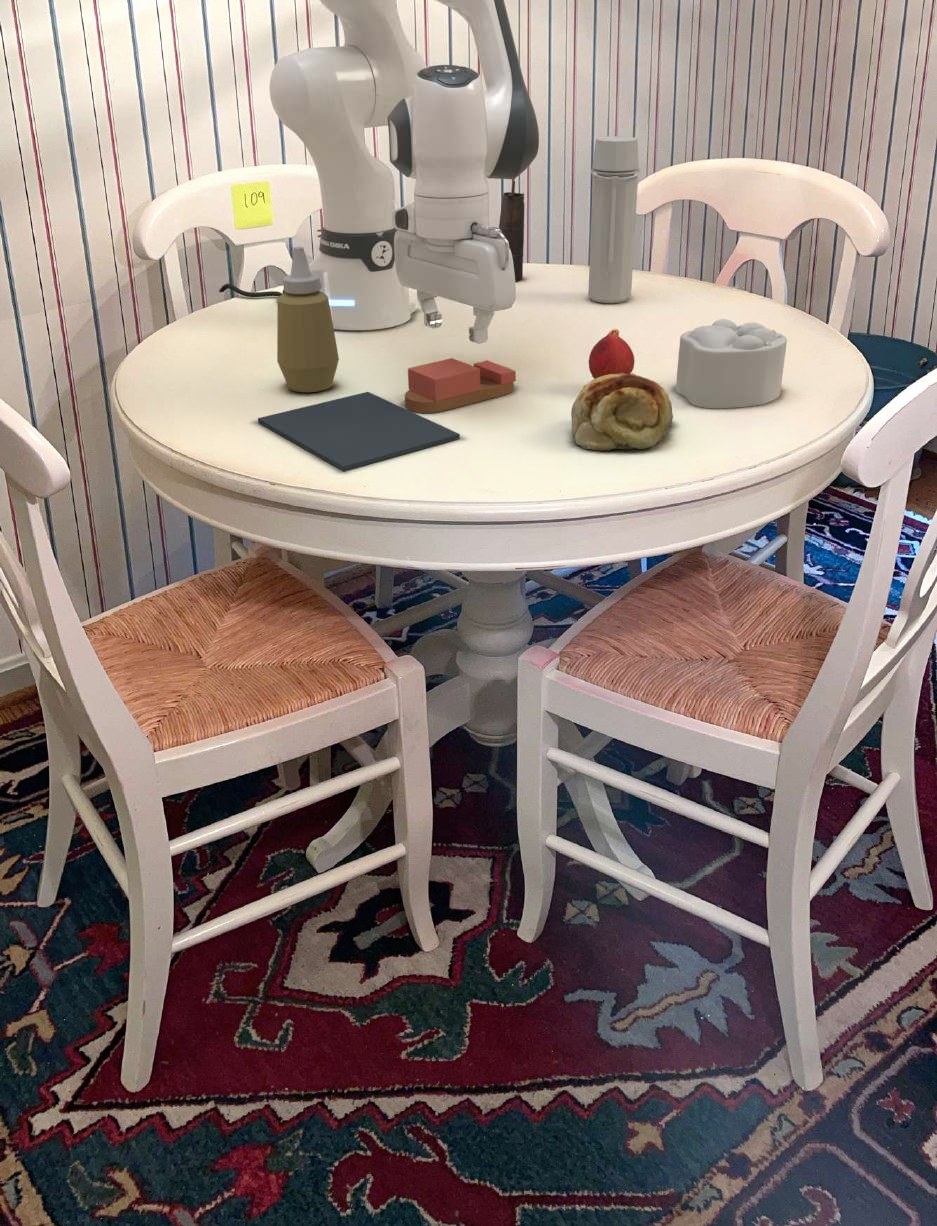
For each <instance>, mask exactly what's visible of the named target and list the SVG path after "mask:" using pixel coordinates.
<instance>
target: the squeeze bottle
mask: <svg viewBox="0 0 937 1226" xmlns="http://www.w3.org/2000/svg"><path fill="white" fill-rule="evenodd" d="M308 262H309V261H308V259H307V256H306V252H305V249H304V247H303V246H294V247H293V252H292V262H291V268H290V274H287V275H285V276H284V277H283V278H282V286H283V289H284V291H285V293H283V292H282V293H283V294H282V295H281V296H280V297H277V299H276V300H277V301H276V302H277V303H276V304H277V305H276V306H277V309H276V310H277V316H276V317H277V318H276V319H277V321H276V322H277V325H276V327H277V329H276V331H277V332H276V336H277V340H276V343H277V344H276V347H277V349H276V357H277V358H276V361H277V364H278V367H279V369H280V372H281V374H282V375H283V378H284V380H285V383H286V385H287V387H288V389H289V390H291V391H293V392H298V393H317V392H321V391H325V390H329V389H331V387H332V386H333V385H334V384H333V383H334V381H335V377H336V373H337V369H338V365H339V362H340V361H339V360H340V358H339V357H340V356H339V352H338V346H337V339H336V334H335V329H334V328H333V322H332V316H331V310H330V305H329V299H328V296H327V295H326V294H325V293H323V292H321V291H319V290H320V277H319V276H318V275H315V274H311V272H310V269H309V263H308Z"/></svg>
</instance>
